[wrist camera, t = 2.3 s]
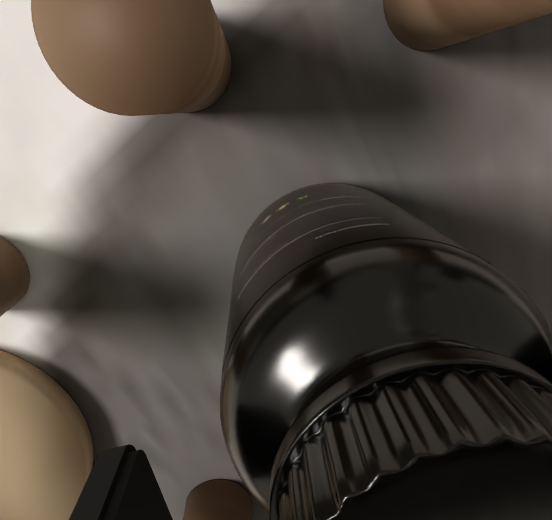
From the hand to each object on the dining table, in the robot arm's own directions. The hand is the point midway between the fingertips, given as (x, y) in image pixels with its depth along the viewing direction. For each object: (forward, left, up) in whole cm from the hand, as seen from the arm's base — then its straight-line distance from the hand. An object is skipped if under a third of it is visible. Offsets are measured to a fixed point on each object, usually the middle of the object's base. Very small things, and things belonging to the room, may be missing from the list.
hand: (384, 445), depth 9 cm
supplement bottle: (0, -1, -9) cm, 9 cm away
